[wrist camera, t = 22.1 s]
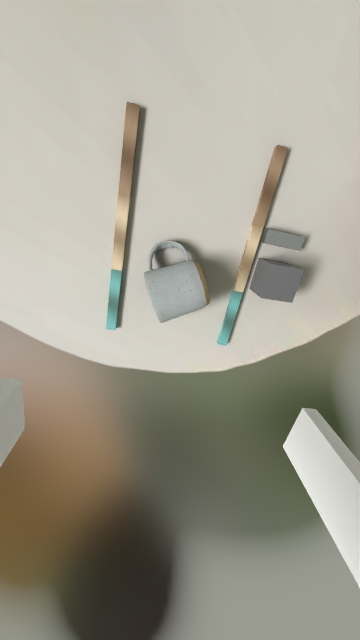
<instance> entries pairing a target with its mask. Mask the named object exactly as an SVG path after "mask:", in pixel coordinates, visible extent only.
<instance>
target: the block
mask: <svg viewBox="0 0 360 640" xmlns="http://www.w3.org/2000/svg"><path fill="white" fill-rule="evenodd" d="M303 273H304V269H301V268H298V267H296V266H293V265H290V264H288V263H282V262H277V261H271V260H266V259H260V258H258V262H257V265H256V268H255V272H254V275H253V278H252V282H251V285H250V288H249V289H251V290H252V291H253V292H254V293H256V294H257V295H258V296H259V297H261V298H265V299H272V300H278V301H285V302H291V303H292V301H293V299H294V296H295V294H296V291H297V288H298V286H299V283H300V281H301V278H302V275H303Z"/></svg>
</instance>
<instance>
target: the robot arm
mask: <svg viewBox="0 0 360 640" xmlns="http://www.w3.org/2000/svg"><path fill="white" fill-rule="evenodd" d="M24 428H25V424H24V409H23V393H22V380H20V379H10V378H1V379H0V467H1V465H2V464H3V462H4V460H5V458H6V457H7V455H8V454H9V452H10V451H11V449H12V447H13V446H14V444H15V443H16V441H17V440H18V438H19V436H20V435H21V433H22V431H23V430H24ZM283 448H284V449H285V451H286V453H287V455H288V457H289V459H290V460H291V462H292V464H293V466H294V468H295V470H296V472H297V473H298V475H299V477H300V479H301V481H302V483H303V484H304V486H305V488H306V490H307V492H308V494H309V495H310V497H311V499H312V501H313V503H314V505H315V506H316V508H317V510H318V512H319V514H320V515H321V517H322V519H323V521H324V523H325V525H326V527H327V529H328V530H329V532H330V534H331V536H332V538H333V539H334V541H335V543H336V545H337V547H338V549H339V550H340V552H341V554H342V556H343V558H344V560H345V562H346V563H347V565H348V567H349V569H350V571H351V573H352V574H353V576H354V578H355V580H356V582H357V584H358V585H359V587H360V462H359V461H358V460H357V459H356V458H355V456H354V455H353V454H352V453H351V451H350V450H349V449H348V448H347V447H346V445H345V444H344V443H343V442H342V440H341V439H340V438H339V437H338V436H337V434H336V433H335V432H334V431H333V429H332V428H331V427H330V426H329V425H328V423H327V422H326V421H325V420H324V419H323V417H322V416H321V415H320V414H319V412H318V411H317V410H316V409H308V408H302V410H301V412H300V414H299V416H298V418H297V420H296V422H295V424H294V426H293V428H292V430H291V432H290V434H289V436H288V438H287V440H286V442H285V444H284V445H283Z"/></svg>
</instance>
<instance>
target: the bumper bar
mask: <svg viewBox="0 0 360 640" xmlns="http://www.w3.org/2000/svg"><path fill="white" fill-rule="evenodd" d="M304 240H305V237H302V236H298V235H293V234H289V233H284V232H280V231H275V230H271V229H265V228H264V231H263V234H262V237H261V240H260V242H262V243H266V244H271V245H275V246H280V247H284V248H289V249H294V250H298V251H300V250H301V248H302V245H303V242H304Z"/></svg>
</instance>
